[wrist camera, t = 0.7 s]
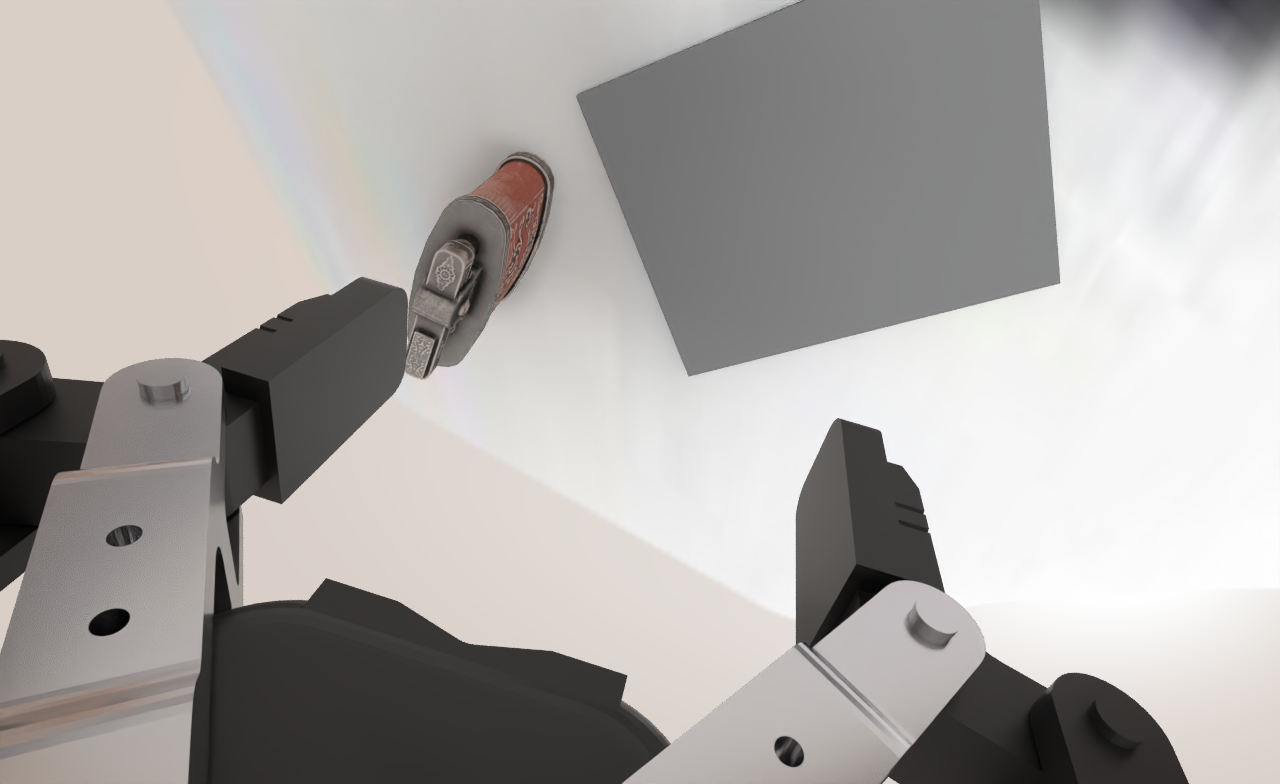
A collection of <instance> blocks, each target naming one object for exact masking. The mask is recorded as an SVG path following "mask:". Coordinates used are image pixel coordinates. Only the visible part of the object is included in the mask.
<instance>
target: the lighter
mask: <svg viewBox="0 0 1280 784" xmlns="http://www.w3.org/2000/svg"><path fill="white" fill-rule="evenodd" d="M553 190H554V176H553V174H552V171H551V169H550V167H549V166H548V165H547V164H546V163H545V161H544V160H542V159H541V158H539V157H538V156H536V155H534V154H531V153H528V152H517V153H514V154H511V155H510V156H508V157H507V158H506V159H505V160H504V161H503V162H502V163H501V164H500V165H499V166H498V168H497V170H496V171H495V173H494V175H492V176H491V177H490V178H489V179H488V180H487V181H485V182H484V183H483V184H482V185H481V186H479V187H478V188H477V189H476V190H475V191H473V192H472V193H471V194H470V195H464V196H462V197H459V198H457V199H455V200H454V201H453V202H452V203H450V204H449V205H448V206H447V207H446V208H445V210H444V211H443V212H442V214H441V216H440V218H439V220H438V221H437V223H436V225H435V227H434V229H433V230H432V232H431V234H430V236H429V238H428V240H427V242H426V244H425V247H424V250H423V252H422V255H421V258H420V260H419V263H418V266H417V268H416V271H415V275H414V281H413V286H412V291H411V296H410V301H409V313H408V333H407V335H408V341H409V342H408V346H407V349H406V367H405V372H406V373H407V374H408V375H410V376H412V377H415V378H418V379H426V378H428V377H429V376H430V374H431V373H432V372H433V370H434V369H435V368H436V367H437V366H444V367H450V366H454V365H457V364H458V363H459V362H461V361H462V360H463V358H464V357H465V356H466V354H467V353H468V352H469V350H470V349H471V347H472V346H473V344H474V343H475V341H476V340H477V338H478V337H479V335H480V334H481V332H482V331H483V329H484V327H485V325H486V323H487V321H488V319H489V317H490V315H491V313H492V312H493V310H494V309H495V308H496V306H497V305H498V304H499V302H500V301H504V300H505V299H506V298H507V297H509V295H510V294H511V293H512V291H513V290H514V288H515V287H516V286H517V284H518V283H519V281H520V280H521V278H522V277H523V275H524V274H525V272H526V271H527V269H528V268H529V266H530V264H531V262H532V260H533V257H534V255H535V253H536V251H537V249H538V247H539V245H540V243H541V240H542V237H543V233H544V230H545V227H546V224H547V220H548V217H549V213H550V207H551V201H552V196H553Z"/></svg>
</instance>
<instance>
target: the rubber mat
mask: <svg viewBox="0 0 1280 784" xmlns="http://www.w3.org/2000/svg"><path fill="white" fill-rule="evenodd" d="M576 98H577V100H578V102H579V105H580V107H581V110H582V112H583V115H584V117H585V120H586V122H587V125H588V127H589V130H590V132H591V135H592V137H593V140H594V142H595V145H596V147H597V150H598V152H599V155H600V157H601V160H602V162H603V165H604V167H605V170H606V172H607V175H608V177H609V180H610V182H611V185H612V187H613V189H614V192H615V194H616V197H617V199H618V202H619V204H620V207H621V209H622V212H623V214H624V217H625V219H626V222H627V224H628V227H629V229H630V232H631V234H632V237H633V239H634V242H635V244H636V247H637V249H638V252H639V254H640V257H641V259H642V262H643V264H644V267H645V269H646V272H647V274H648V276H649V279H650V281H651V284H652V286H653V289H654V291H655V294H656V296H657V299H658V301H659V304H660V306H661V309H662V311H663V314H664V316H665V319H666V321H667V324H668V326H669V329H670V331H671V334H672V336H673V339H674V341H675V344H676V346H677V349H678V351H679V354H680V356H681V359H682V361H683V363H684V366H685V368H686V371H687V373H688V376H692V375H696V374H700V373H704V372H708V371H712V370H716V369H720V368H724V367H728V366H732V365H736V364H740V363H744V362H748V361H752V360H756V359H760V358H764V357H768V356H772V355H776V354H780V353H784V352H788V351H792V350H796V349H800V348H804V347H808V346H812V345H816V344H820V343H824V342H828V341H832V340H836V339H840V338H844V337H848V336H852V335H856V334H860V333H864V332H868V331H872V330H876V329H880V328H884V327H888V326H892V325H896V324H900V323H904V322H908V321H912V320H916V319H920V318H924V317H928V316H932V315H936V314H940V313H944V312H948V311H952V310H956V309H960V308H964V307H968V306H972V305H976V304H980V303H984V302H988V301H992V300H996V299H999V298H1003V297H1007V296H1011V295H1015V294H1019V293H1023V292H1027V291H1031V290H1035V289H1039V288H1043V287H1047V286H1051V285H1055V284H1059V283H1060V273H1059V260H1058V246H1057V233H1056V220H1055V206H1054V193H1053V179H1052V166H1051V153H1050V139H1049V126H1048V112H1047V99H1046V86H1045V72H1044V59H1043V45H1042V32H1041V19H1040V5H1039V0H803V1H801V2H798V3H796V4H793V5H791V6H789V7H786V8H784V9H781V10H779V11H777V12H774V13H772V14H769V15H767V16H765V17H762V18H760V19H757V20H755V21H753V22H750V23H748V24H746V25H743V26H741V27H738V28H736V29H734V30H731V31H729V32H726V33H724V34H722V35H719V36H717V37H714V38H712V39H710V40H707V41H705V42H702V43H700V44H698V45H695V46H693V47H690V48H688V49H686V50H683V51H681V52H678V53H676V54H674V55H671V56H669V57H667V58H664V59H662V60H659V61H657V62H655V63H652V64H650V65H647V66H645V67H643V68H640V69H638V70H635V71H633V72H631V73H628V74H626V75H623V76H621V77H619V78H616V79H614V80H611V81H609V82H607V83H604V84H602V85H599V86H597V87H595V88H592V89H590V90H587V91H585V92H583V93H580V94H578V95H577V96H576Z"/></svg>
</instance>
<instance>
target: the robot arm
mask: <svg viewBox="0 0 1280 784" xmlns="http://www.w3.org/2000/svg"><path fill="white" fill-rule="evenodd" d="M407 313H408V299H407V295H406V292H405V291H404V290H403V289H402V288H399V287H395V286H392V285H389V284H385V283H382V282H378V281H375V280H372V279H368V278H365V277H361V278H358V279H356V280H355V281H353V282H352V283H350V284H349V285H347V286H345V287H344V288H342V289H341V290H339V291H338V292H336V293H335V294H333V295H328V294H326V295H322V296H319V297H315V298H312V299H308V300H304V301H301V302H298V303H296V304H295V305H293V306H291V307H290V308H288V309H286V310H285V311H283V312H281V313H280V314H278V316H277V318H272V319H270V320H268V321H267V322H265V323H264V324H262V325H260V329H257V328H256V329H254V330H252V331H251V332H249V333H247V334H246V335H244V336H242V337H241V338H239V339H238V340H236V341H234V342H233V343H231V344H229V345H228V346H226V347H225V348H223V349H221V350H220V351H218V352H216V353H215V354H213V355H211V356H210V357H208V358H207V359H205V360H203V361H202V362H200V361H196V360H190V359H181V358H165V359H155V360H149V361H144V362H141V363H137V364H134V365H131V366H128V367H126V368H123V369H121V370H119V371H118V372H116V373H114V374H113V375H112V376H111V377H109V378H108V379H107V380H106V381H105V382H94V381H82V380H71V379H58V378H52V376H51V373H50V370H49V367H48V363H47V360H46V357H45V355H44V354H43V352H42V351H41V350H40V349H38V348H36V347H34V346H32V345H29V344H26V343H22V342H17V341H9V340H0V591H2V590H3V589H4V588H5V587H7V585H9V584H10V583H11V582H12V581H14V580H15V579H16V578H18V577H19V576H20V575H21V574H22V573H24V572H25V574H24V577H23V581H22V584H21V587H20V590H19V594H18V597H17V601H16V604H15V608H14V610H13V614H12V617H11V620H10V624H9V627H8V630H7V634H6V637H5V640H4V644H3V647H2V650H1V654H0V784H882V783H883V782H884V781H885V780H886V779H887V778H888V777H890V778H891V779H893V780H894V781H896V782H897V783H899V784H1189V783H1188V780H1187V778H1186V776H1185V774H1184V772H1183V769H1182V767H1181V765H1180V763H1179V761H1178V758H1177V756H1176V754H1175V751H1174V749H1173V747H1172V745H1171V743H1170V741H1169V739H1168V738H1167V736H1166V735H1165V733H1164V732H1163V730H1162V729H1161V727H1160V726H1159V725H1158V724H1157V722H1156V721H1155V720H1154V719H1153V718H1152V717H1151V715H1149V714H1148V712H1147V711H1146V710H1145V709H1144V708H1142V707H1141V706H1140V705H1139V704H1138V703H1137V702H1136V701H1135V700H1133V699H1132V698H1131V697H1129V696H1128V695H1127V694H1126V693H1124V692H1123V691H1121V690H1119V689H1118V688H1116V687H1115V686H1113V685H1111V684H1109V683H1107V682H1106V681H1104V680H1101V679H1099V678H1096V677H1094V676H1090V675H1087V674H1081V673H1067V674H1064V675H1062V676H1060V677H1059V678H1057V680H1055V682H1054V683H1053V684H1052V685H1051V686H1050V687H1049V688H1046V687H1044V686H1042V685H1041V684H1039V683H1037V682H1035V681H1034V680H1032V679H1030V678H1028V677H1026V676H1025V675H1023V674H1021V673H1020V672H1018V671H1016V670H1014V669H1013V668H1010V667H1009V666H1007V665H1005V664H1003V663H1002V662H1000V661H999V660H997V659H996V658H994V657H992V656H991V655H990V654H988V653H987V652H986V648H985V641H984V637H983V635H982V632H981V630H980V628H979V627H978V625H977V623H976V622H975V620H974V619H973V618H972V616H971V615H970V614H969V613H968V612H967V611H966V610H965V609H964V608H963V607H962V606H961V605H960V604H959V603H958V602H956V601H955V600H954V599H953V598H951V597H950V596H948V595H947V594H945V591H944V587H943V583H942V579H941V575H940V571H939V567H938V563H937V559H936V555H935V551H934V547H933V543H932V539H931V535H930V533H928V529H929V527H928V523H927V519H926V515H924V514H923V513H924V507H923V503H922V499H921V495H920V491H919V488H918V487H917V486H916V484H915V483H914V482H913V480H912V479H911V478H910V476H909V475H908V473H907V472H906V471H905V469H904V468H903V467H902V466H899V465H896V464H893V463H889V462H887V459H886V454H885V449H884V444H883V439H882V434H881V432H880V431H879V430H877V429H873V428H870V427H867V426H863V425H860V424H856V423H853V422H850V421H846V420H843V419H839V418H838V419H836V420H835V421H834V422H833V424H832V425H831V427H830V429H829V431H828V433H827V436H826V438H825V440H824V442H823V444H822V446H821V448H820V451H819V453H818V455H817V457H816V459H815V461H814V464H813V466H812V468H811V470H810V472H809V474H808V476H807V479H806V481H805V483H804V485H803V488H802V491H801V494H800V497H799V501H798V506H797V511H796V645H795V646H794V647H792V648H791V649H789V650H788V651H787V652H786V653H784V654H783V655H782V656H781V657H779V658H778V659H777V660H776V661H774V662H773V663H772V664H771V665H769V666H768V667H767V668H766V669H764V670H763V671H762V672H761V673H759V674H758V675H757V676H756V677H754V678H753V679H752V680H751V681H749V682H748V683H747V684H746V685H744V686H743V687H742V688H741V689H739V690H738V691H737V692H736V693H734V694H733V695H732V696H731V697H729V698H728V699H727V700H726V701H724V702H723V703H722V704H721V705H719V706H718V707H717V708H716V709H714V710H713V711H712V712H711V713H709V714H708V715H707V716H706V717H704V718H703V719H702V720H701V721H699V722H698V723H697V724H696V725H694V726H693V727H692V728H691V729H689V730H688V731H687V732H686V733H684V734H683V735H682V736H681V737H679V738H678V739H677V740H676V741H674V742H673V743H672V744H670V742H669V741H668V740H667V739H666V737H665V736H664V735H663V734H662V733H661V732H660V731H659V730H658V729H657V728H656V727H655V726H654V725H653V724H652V723H651V722H650V721H649V720H648V719H647V718H645V717H644V716H643V715H642V714H640V713H639V712H638V711H637V710H635V709H634V708H633V707H631V706H630V705H628V704H626V703H624V702H623V701H622V700H621V699H622V695H623V691H624V687H625V683H626V679H627V675H624V674H621V673H618V672H615V671H612V670H609V669H606V668H603V667H600V666H597V665H594V664H590V663H587V662H584V661H581V660H578V659H575V658H572V657H569V656H565V655H562V654H559V653H556V652H553V651H544V650H532V649H520V648H507V647H496V646H483V645H473V644H468V643H465V642H462V641H460V640H458V639H457V638H455V637H454V636H452V635H450V634H449V633H447V632H446V631H444V630H443V629H441V628H439V627H438V626H436V625H435V624H433V623H431V622H430V621H428V620H427V619H425V618H424V617H422V616H420V615H419V614H417V613H416V612H414V611H413V610H411V609H409V608H408V607H406V606H404V605H403V604H402V603H400V602H398V601H395V600H392V599H389V598H386V597H383V596H380V595H376V594H373V593H370V592H367V591H364V590H361V589H358V588H355V587H352V586H348V585H346V584H342V583H339V582H336V581H333V580H330V579H327V578H326V579H325V580H324V581H323V583H322V584H321V585H320V587H319V588H318V589H317V590H316V591H315V593H314V594H313V595H312V596H311V598H310V599H309V600H308V601H307V600H286V601H285V600H284V601H272V602H264V603H257V604H252V605H247V606H243V515H242V508H241V505H242V504H243V503H244V502H245V501H246V500H247V499H248V498H250V497H251V496H252V495H255V496H258V497H261V498H265V499H267V500H270V501H274V502H277V503H280V504H282V503H283V502H284V501H286V499H287V498H289V497H290V496H291V494H293V493H294V492H295V491H296V490H297V489H298V488H299V486H301V484H303V483H304V482H305V481H306V480H307V479H308V478H309V477H310V476H311V475H312V474H313V473H314V472H315V471H316V470H317V469H318V468H319V467H320V466H321V465H322V464H323V463H324V462H325V461H326V460H327V459H328V458H329V457H330V456H331V455H332V454H333V453H334V452H335V451H336V450H337V449H338V448H339V447H340V446H341V445H342V444H343V443H344V442H345V441H346V440H347V439H348V438H349V437H350V436H351V435H352V434H353V433H354V432H355V431H356V430H357V429H358V428H359V427H360V426H361V425H363V423H365V422H366V420H368V418H370V417H371V416H372V415H373V414H374V413H375V412H376V410H378V409H379V408H380V407H381V406H382V405H383V404H384V403H385V402H386V401H387V400H388V399H389V398H390V397H391V396H392V395H393V394H394V393H395V391H396V390H397V388H398V387H399V385H400V383H401V381H402V378H403V375H404V372H405V367H406V349H407Z"/></svg>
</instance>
